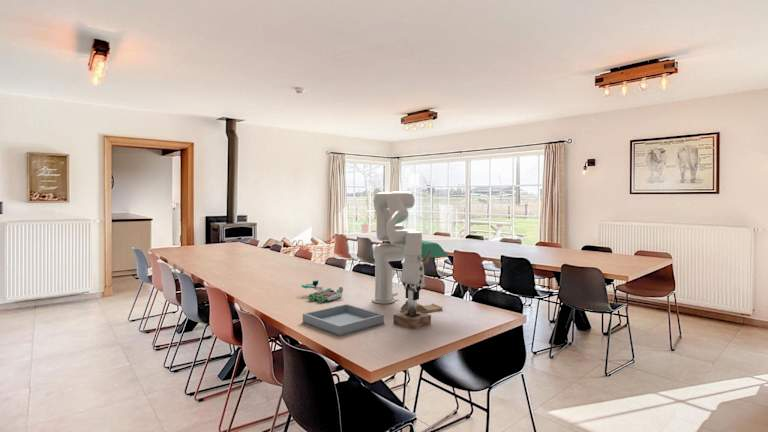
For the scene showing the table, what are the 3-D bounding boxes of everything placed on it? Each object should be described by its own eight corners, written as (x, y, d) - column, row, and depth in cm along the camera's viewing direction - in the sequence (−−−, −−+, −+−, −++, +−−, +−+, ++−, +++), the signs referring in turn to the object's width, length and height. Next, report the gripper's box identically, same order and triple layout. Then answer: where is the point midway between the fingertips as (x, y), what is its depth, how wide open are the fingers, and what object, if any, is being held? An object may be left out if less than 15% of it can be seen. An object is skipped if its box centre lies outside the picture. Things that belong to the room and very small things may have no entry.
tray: (346, 311, 211) (346, 303, 211) (384, 323, 193) (384, 314, 192) (302, 322, 192) (302, 313, 192) (339, 336, 174) (339, 326, 174)
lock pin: (411, 312, 196) (411, 286, 195) (418, 314, 193) (418, 288, 192) (405, 314, 193) (406, 288, 192) (412, 316, 190) (412, 289, 190)
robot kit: (312, 292, 255) (312, 276, 254) (347, 297, 242) (347, 281, 242) (291, 298, 239) (291, 281, 238) (327, 304, 226) (327, 287, 226)
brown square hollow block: (410, 318, 201) (410, 309, 201) (430, 323, 193) (430, 315, 193) (393, 323, 193) (393, 314, 193) (413, 329, 184) (413, 320, 184)
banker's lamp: (397, 309, 218) (398, 240, 216) (431, 304, 227) (432, 239, 226) (413, 316, 204) (414, 244, 202) (448, 312, 213) (450, 242, 212)
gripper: (432, 260, 188) (431, 300, 189) (404, 255, 200) (403, 294, 201) (422, 261, 183) (421, 303, 184) (393, 257, 195) (393, 296, 196)
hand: (412, 298), depth 193 cm, fingers closed on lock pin, 4 cm apart
